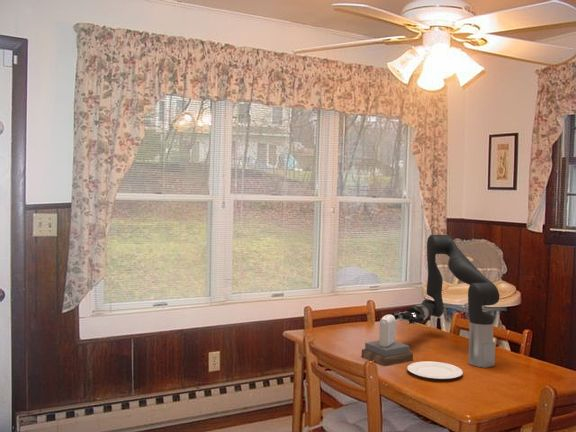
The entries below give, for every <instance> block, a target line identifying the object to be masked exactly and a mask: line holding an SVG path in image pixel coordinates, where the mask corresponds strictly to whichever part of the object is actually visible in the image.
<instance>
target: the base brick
mask: <svg viewBox="0 0 576 432" xmlns="http://www.w3.org/2000/svg"><path fill="white" fill-rule="evenodd" d="M361 357H362V358H364V359H367V360H369V361H371V360H374V361H375V362H374V361H373V362H374V363H377V364H378V365H379V364H380V365H381V366H384V367H388V366H392V365H398V364H402V363H408V362H411V361H414V353H413V352H410V353H407V354H402V355H397V356H392V357H387V358H385V357H383V356H380V355H377V354H375V353H372V352H369V351H367V350H365V348H363V349H361Z"/></svg>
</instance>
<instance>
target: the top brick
mask: <svg viewBox="0 0 576 432" xmlns="http://www.w3.org/2000/svg"><path fill="white" fill-rule="evenodd" d="M364 349H365V350H367V351H369V352H372V353H375V354H377V355H380V356H383V357H385V358H387V357H392V356H397V355H402V354H407V353H410V350H411V348H410V345H408V344H406V343H402V342H399V341H396V340H395V342H394V343H393V344H391V345H390V346H388V347H382V346H380V344H379V340H375V341H368V342H365V343H364Z"/></svg>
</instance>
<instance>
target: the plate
mask: <svg viewBox="0 0 576 432" xmlns="http://www.w3.org/2000/svg"><path fill="white" fill-rule="evenodd" d="M406 369H407V371H408V372H409V373H410V374H412V375H414V376H417V377H419V378H422V379H427V380H430V381H431V380H432V381H448V380H452V379H457V378H460V377H461V376H463V374H464V371H463V369H461V368H460V367H458V366H455V365H453V364H451V363H447V362H442V361H441V362H439V361H430V360H429V361H417V362H413V363H412V362H411V363H410V364H409V365H407V367H406Z"/></svg>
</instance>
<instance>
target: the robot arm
mask: <svg viewBox="0 0 576 432" xmlns="http://www.w3.org/2000/svg"><path fill="white" fill-rule="evenodd" d="M436 255H446V256H448V257H449V259H448V262H447V265H448V269H449V271H450V273H452V275H453V276H454V277H455V278H456V279H458V280H459V281H461V282H462V283H464V284H467V285H469V287H468V290H467V302H468V303H467V304H468V317H469V323H468V325H469V328H468V330H469V331H468V364H469V365H470V366H474V367H478V368H484V369H485V368H490V367H494V366H495V365H496V359H495V358H496V342H495V341H494V316H493V315H492V314H489V313H487V312H485V311H483V307H484V306H485V307H486V306H489V307H490V306H494V305H497V304H498V302H500V298H501V296H500V292H499V291H500V290H499V289H498V288H497V285H495V284H494V282H492V281H491V280H490V279H489V278H488V277H486V276H485V275H484V274H483V273H482V272H481V271H479V269H478V268H477V267H476V266H475V265H474V264H473V262H471V260H470V259H469V258H468V257H467V256H466V255H465V254H464V253H463V252H462V250H461V249H460V248H459V247H458V246H457V244H456V242H455V241H454V240H453V238H452V237H451V236H450V235H448V234H430V235H429V236H428V238H427V241H426V262H427V263H426V264H427V282H426V283H427V284H426V295H428V296H429V297H430V298H432V299H433V300H432V299H423V300H422V302H421V303H420V304H416V305H413V306H409V307H408V308H407V309H406V310H405V311H402V312H401V311H399V310H397V311H393V312H391V315H393V316H394V317H395V321H397V320H398V321H406V322H407V321H408V322H409V325H410V324H414V325H415V324H422V323H424V322H426V319H428V318H430V317H436V318H439V317H442V315H443V314H444V311H445V307H444V302H443V293H442V292H443V284H444V283H443V281H444V280H443V275H442V273H441V271H440V269H439V267H438V265H437V258H436Z"/></svg>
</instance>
